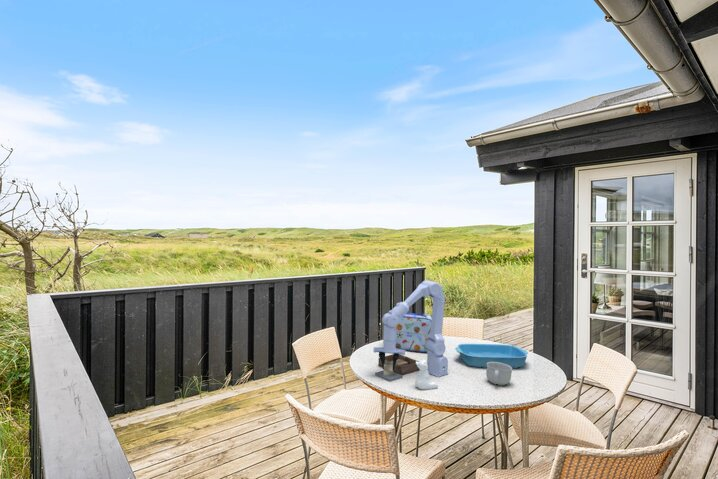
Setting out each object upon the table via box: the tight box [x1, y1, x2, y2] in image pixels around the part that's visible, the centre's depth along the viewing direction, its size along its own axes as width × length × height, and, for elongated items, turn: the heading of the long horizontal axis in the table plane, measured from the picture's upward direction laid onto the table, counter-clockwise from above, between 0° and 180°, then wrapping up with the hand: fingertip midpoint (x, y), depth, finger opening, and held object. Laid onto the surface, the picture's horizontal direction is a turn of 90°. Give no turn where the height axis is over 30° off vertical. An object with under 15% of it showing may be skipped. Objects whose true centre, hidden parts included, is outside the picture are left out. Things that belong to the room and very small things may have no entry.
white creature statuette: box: [415, 359, 439, 391], centre depth 160 cm, size 10×9×12 cm
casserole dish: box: [454, 343, 529, 369], centre depth 195 cm, size 37×22×7 cm, turn 90°
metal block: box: [383, 362, 394, 376], centre depth 172 cm, size 4×4×5 cm
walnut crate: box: [378, 354, 420, 376], centre depth 183 cm, size 16×13×4 cm
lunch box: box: [395, 312, 432, 353], centre depth 214 cm, size 28×10×22 cm, turn 73°
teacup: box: [485, 362, 513, 386], centre depth 166 cm, size 14×11×8 cm
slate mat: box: [374, 369, 403, 383], centre depth 172 cm, size 10×8×1 cm
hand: (388, 368), depth 172 cm, fingers closed on metal block, 4 cm apart
